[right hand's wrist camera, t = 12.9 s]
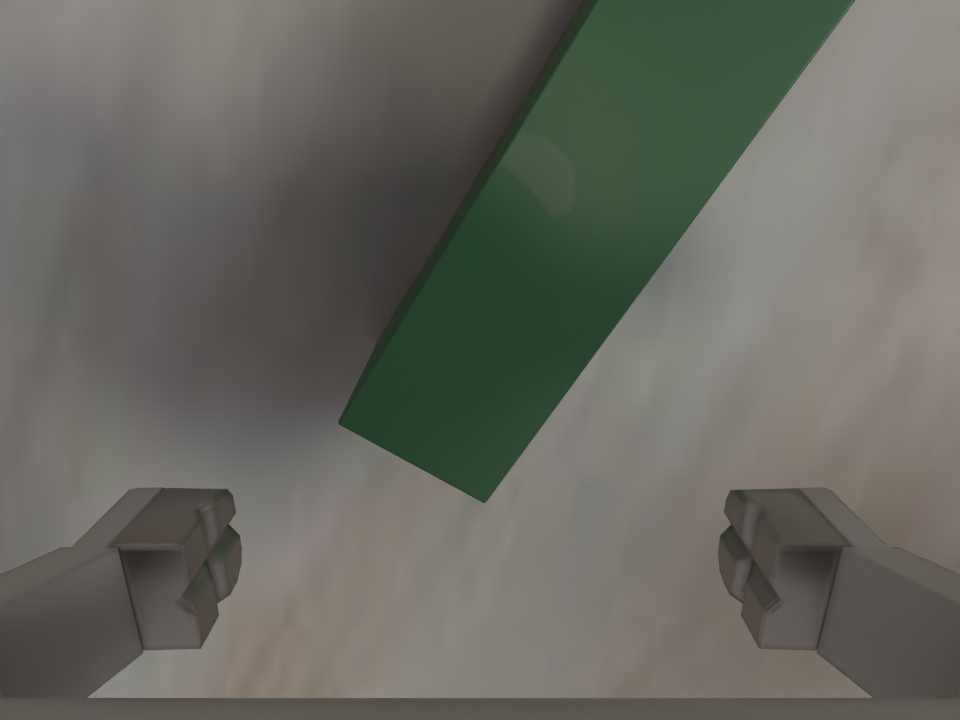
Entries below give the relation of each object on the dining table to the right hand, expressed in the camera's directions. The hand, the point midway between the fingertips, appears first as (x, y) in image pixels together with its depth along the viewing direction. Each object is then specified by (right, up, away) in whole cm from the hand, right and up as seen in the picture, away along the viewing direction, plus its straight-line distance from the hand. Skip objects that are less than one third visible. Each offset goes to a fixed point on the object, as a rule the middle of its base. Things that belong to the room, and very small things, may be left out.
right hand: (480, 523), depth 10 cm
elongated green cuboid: (+2, +9, +14) cm, 17 cm away
